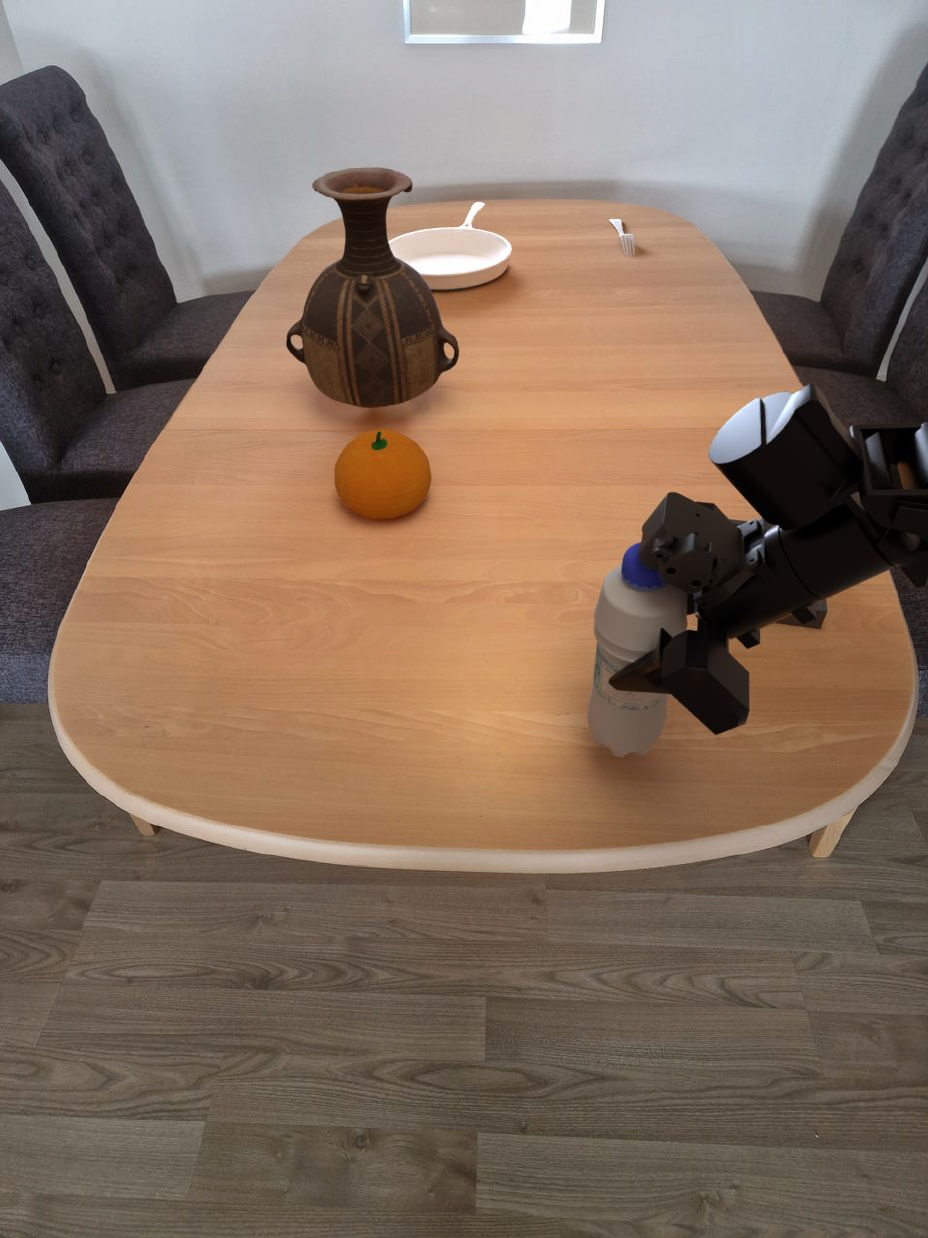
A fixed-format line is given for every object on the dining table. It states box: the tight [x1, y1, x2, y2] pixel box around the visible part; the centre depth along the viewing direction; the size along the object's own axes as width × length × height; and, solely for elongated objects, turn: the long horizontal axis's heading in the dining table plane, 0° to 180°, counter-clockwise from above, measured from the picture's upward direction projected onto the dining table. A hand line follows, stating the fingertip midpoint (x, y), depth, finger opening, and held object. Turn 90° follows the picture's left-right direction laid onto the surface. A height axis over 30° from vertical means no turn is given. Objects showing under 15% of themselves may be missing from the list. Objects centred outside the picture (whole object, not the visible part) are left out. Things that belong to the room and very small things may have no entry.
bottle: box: [586, 541, 688, 759], centre depth 61 cm, size 7×7×20 cm
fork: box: [608, 218, 636, 257], centre depth 164 cm, size 3×21×3 cm, turn 1°
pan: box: [388, 201, 513, 292], centre depth 158 cm, size 25×38×5 cm, turn 164°
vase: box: [285, 166, 460, 409], centre depth 107 cm, size 23×19×30 cm
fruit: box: [333, 428, 432, 520], centre depth 97 cm, size 12×12×10 cm
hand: (616, 653), depth 62 cm, fingers closed on bottle, 6 cm apart
